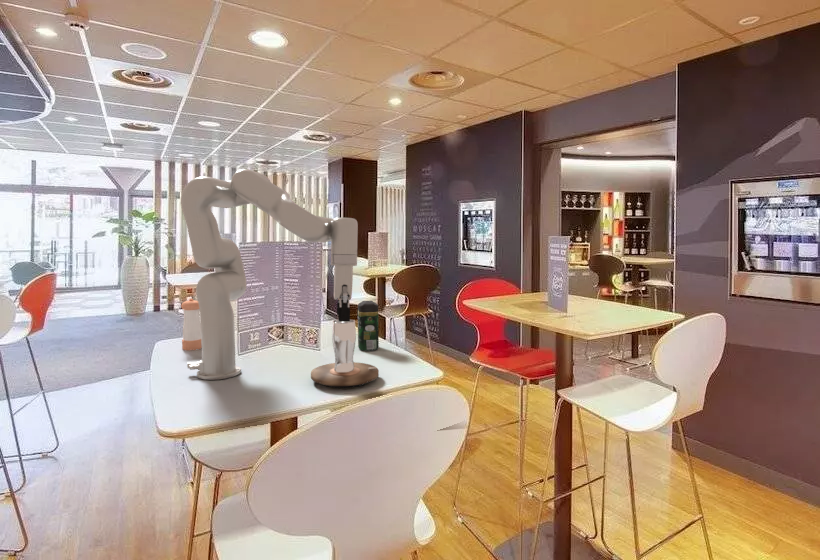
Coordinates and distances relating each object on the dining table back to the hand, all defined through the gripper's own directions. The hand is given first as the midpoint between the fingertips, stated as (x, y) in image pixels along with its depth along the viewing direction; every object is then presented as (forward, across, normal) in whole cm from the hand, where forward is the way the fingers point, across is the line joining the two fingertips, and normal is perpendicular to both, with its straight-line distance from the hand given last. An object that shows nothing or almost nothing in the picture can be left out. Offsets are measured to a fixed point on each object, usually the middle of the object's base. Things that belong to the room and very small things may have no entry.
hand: (343, 318), depth 133 cm
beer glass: (+16, 0, +1) cm, 16 cm away
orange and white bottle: (+21, -50, -54) cm, 76 cm away
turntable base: (+19, 0, +1) cm, 19 cm away
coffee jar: (+19, -38, +12) cm, 44 cm away
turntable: (+17, 0, +1) cm, 17 cm away
